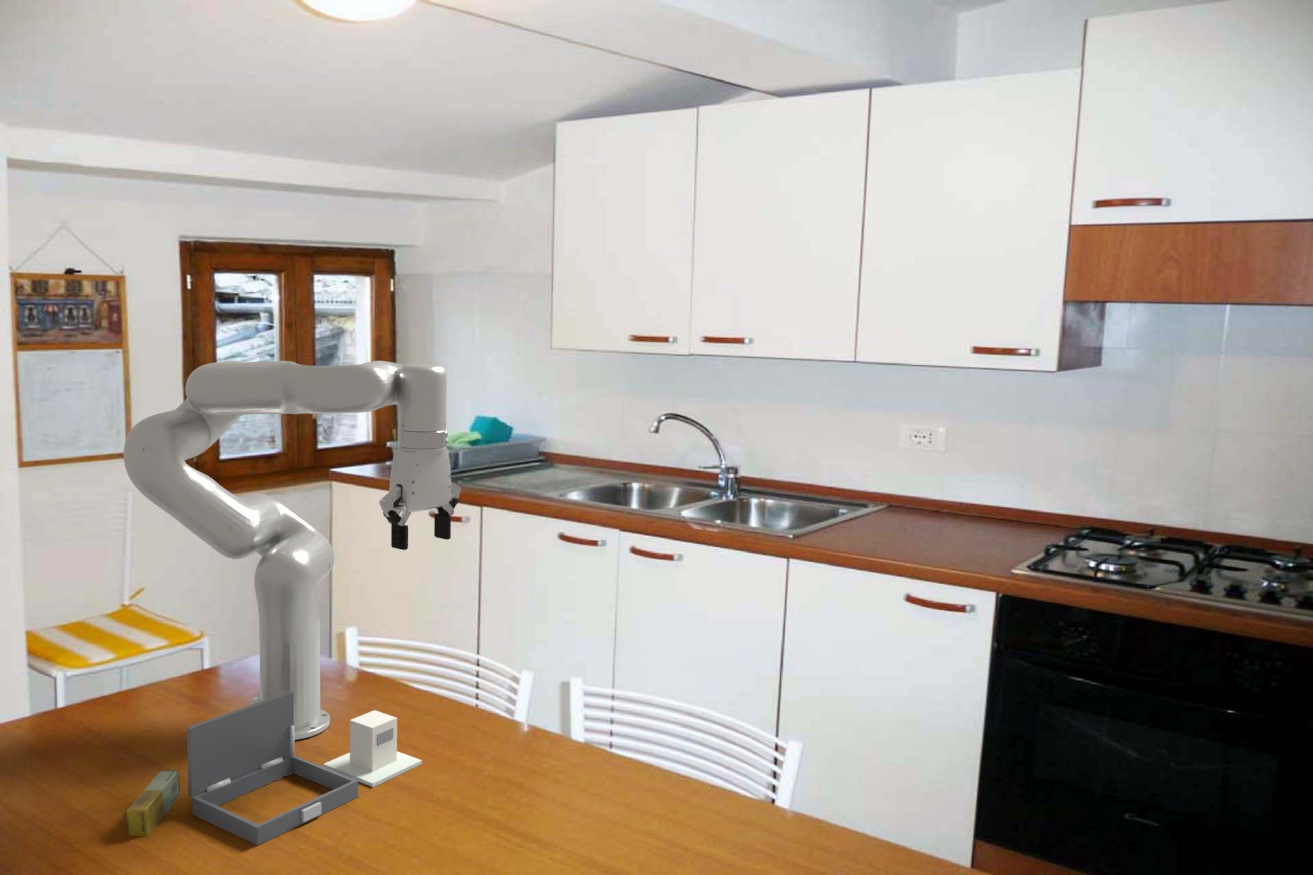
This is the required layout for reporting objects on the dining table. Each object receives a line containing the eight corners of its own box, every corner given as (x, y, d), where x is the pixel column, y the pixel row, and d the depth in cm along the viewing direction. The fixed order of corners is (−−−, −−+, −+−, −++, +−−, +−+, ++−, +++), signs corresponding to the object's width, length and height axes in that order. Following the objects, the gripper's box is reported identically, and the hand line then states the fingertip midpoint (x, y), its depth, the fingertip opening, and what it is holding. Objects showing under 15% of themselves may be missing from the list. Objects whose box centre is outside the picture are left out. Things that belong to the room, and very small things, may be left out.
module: (349, 763, 164) (349, 719, 163) (374, 752, 168) (374, 710, 167) (373, 772, 161) (373, 728, 160) (397, 760, 165) (397, 717, 165)
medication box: (161, 795, 153) (160, 769, 153) (181, 795, 153) (179, 768, 153) (127, 837, 141) (125, 809, 141) (148, 837, 142) (146, 809, 141)
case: (188, 812, 148) (186, 727, 146) (290, 769, 163) (290, 691, 161) (260, 846, 140) (258, 756, 138) (360, 797, 154) (360, 715, 153)
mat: (323, 767, 164) (323, 763, 163) (372, 745, 172) (372, 742, 172) (373, 787, 158) (373, 783, 158) (421, 763, 166) (421, 760, 166)
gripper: (443, 433, 181) (442, 531, 184) (365, 443, 167) (365, 549, 169) (476, 438, 177) (474, 537, 180) (399, 448, 163) (398, 556, 165)
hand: (421, 543), depth 174 cm, fingers open, 9 cm apart
